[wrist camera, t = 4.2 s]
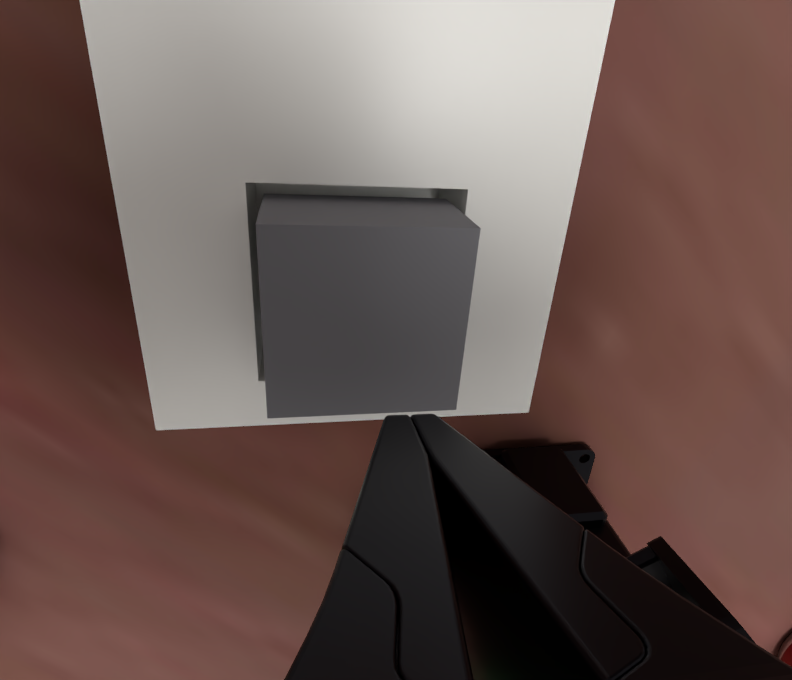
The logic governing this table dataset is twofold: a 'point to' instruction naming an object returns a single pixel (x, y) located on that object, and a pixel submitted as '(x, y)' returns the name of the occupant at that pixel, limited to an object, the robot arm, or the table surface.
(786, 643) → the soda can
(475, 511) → the robot arm
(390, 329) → the key
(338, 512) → the table surface
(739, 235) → the table surface
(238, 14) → the white base plate
